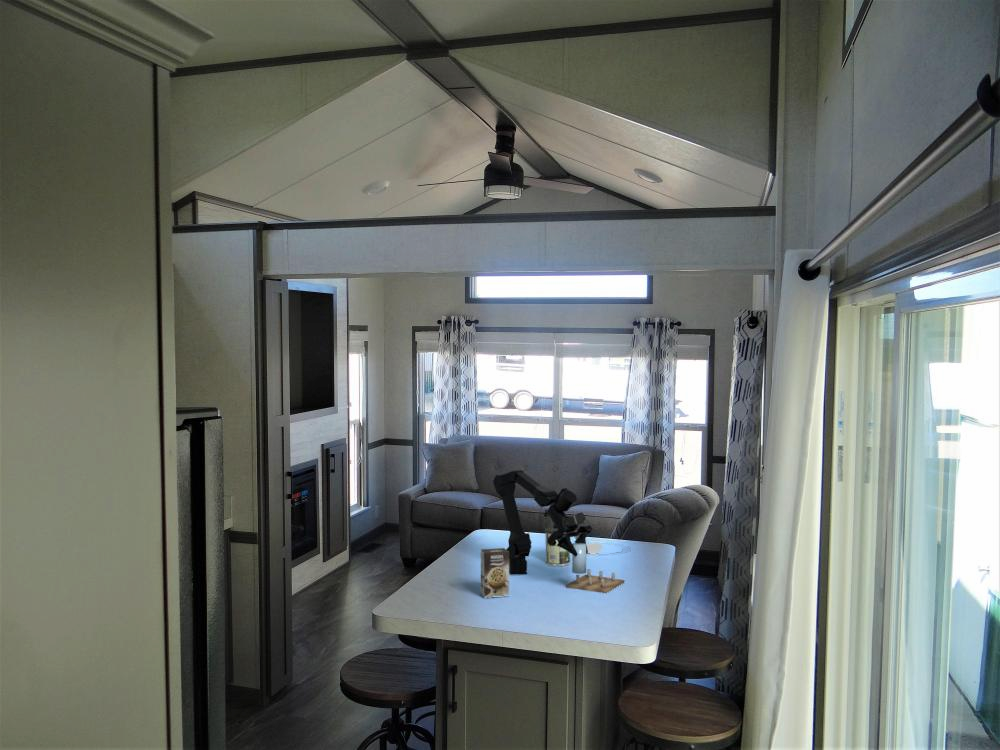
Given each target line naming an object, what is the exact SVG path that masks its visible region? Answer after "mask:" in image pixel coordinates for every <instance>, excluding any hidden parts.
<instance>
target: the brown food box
mask: <svg viewBox="0 0 1000 750" xmlns="http://www.w3.org/2000/svg"><path fill="white" fill-rule="evenodd" d="M506 549H507V548H505V547H503V548H502V547H501V548H487V549H485V548H484V549H483V548H482V549H480V594H481V593H482V595H483V596H484V597H493V596H504V595H509V596H510V573H509V551H508V550H506ZM482 595H481V596H482ZM483 596H482V597H483ZM484 597H483V598H484Z"/></svg>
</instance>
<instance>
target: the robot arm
mask: <svg viewBox="0 0 1000 750" xmlns="http://www.w3.org/2000/svg"><path fill="white" fill-rule="evenodd" d="M492 483H493V486H494V489H495V491H496V494H498V495H499V496H500V497H501V500H502V504H503V508H504V512H505V516H506V520H507V524H508V525H507V526H508V529H509V532H510V533H509V537H508V547H507V548H505V549H506V550H508V551H509V575H511V574H518V575H527V574H528V561H527V560H526V557H529V556H530V553H531V549H532V544H533V543H532V540H531V536H530V533H528V532H525V530H523V526H522V522H521V518H520V515H519V510H518V506H517V502H516V499H515V491H516V487H517V485H516V484H518V485H519V486H520V487H521V488H523V489H524V490H526V491H527V492H528V494H531V495H532V496H533V499H534V501H535V502H536V504H537V505H538V506H539V507H541V508H545V507H548V508H546V509H544V513H543V517H545V518H546V517H549V518H550V520H551V522H552V523H553V526H552V527H553V528H554V529H557V531H553V532H552V534H551V535H550V536H549V537H548V538H547V542H548V544H549V545H550V546H553V545H556V541H555V540H557V541H558V544H557V546H559V547H561V548H563V549H565V550H566V551H568V552H570V555H572V554H573V555H574V556H577V555H578V554H577V552H576V550H575V548H574V546H573V542H572V541H571V538H574V539H575V540H574V543H585V544H587V543H586V542H587V537H588V536H590V534H591V533H592V532H593V531H594V530H593V528H592V526H591V525H590V524H585V525H581V524H584V523H585V521H586V518H587V517H586V515H585V514H584V512H582V511H581V512H578V513H576V515H572V516H571V515H567V513H566V512H569V510H570V509H571V508H572V507H573V505H574V504H575V503H576V502H577V500H578V498H577V495H576V493H574V492H573V491H571V490H569V489H568V488H567V487H564V488H563V487H562V488H561V489H560V490H559V493H558V492H557V491H555V490H554V489H552V488H550V487H547V486H543V485H542V484H540V483H538V482H537V481H535V480H534V478H532V477H530V475H528V474H526V473H525V471H524V470H522V469H514V470H511V471H509V472H507V473H502V474H496V475H495V476H494V479H493V480H492ZM579 525H580V527H579ZM576 529H577V530H576ZM586 555H588V549H587V545H586Z"/></svg>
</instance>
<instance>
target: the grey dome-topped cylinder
mask: <svg viewBox="0 0 1000 750" xmlns="http://www.w3.org/2000/svg"><path fill="white" fill-rule="evenodd" d="M572 544H573V546H574V548H575V550H576V552H577V554H578V555H577V556H574V555H573V554H571V557H572V558H571V559H572V564H571V565H572V566H571V567H572V568H571V570H572V571H571V572H572V573H573V574H576V575H583V574H586V573H587V556H586V555H587V554H586V544H587V543H586V544H585V543H575V542H572Z"/></svg>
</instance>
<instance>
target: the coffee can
mask: <svg viewBox="0 0 1000 750" xmlns="http://www.w3.org/2000/svg"><path fill="white" fill-rule="evenodd" d="M553 531H557V529H554V528H553V526H549V527H546V528H545V529H544V532H545V564H546V565H548V566H553V567H554V566H555V567H563V566H565V567H566V566H569V565H570V564H571V553H570V552H568V551H566V550H565V549H563V548H561V547H559V546H557V544H558V541H557V540H555V541H556V545H553V546H550V545H549V544H548V542H547V538H548V537H549V536H550V535H551V534H552V532H553Z"/></svg>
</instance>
